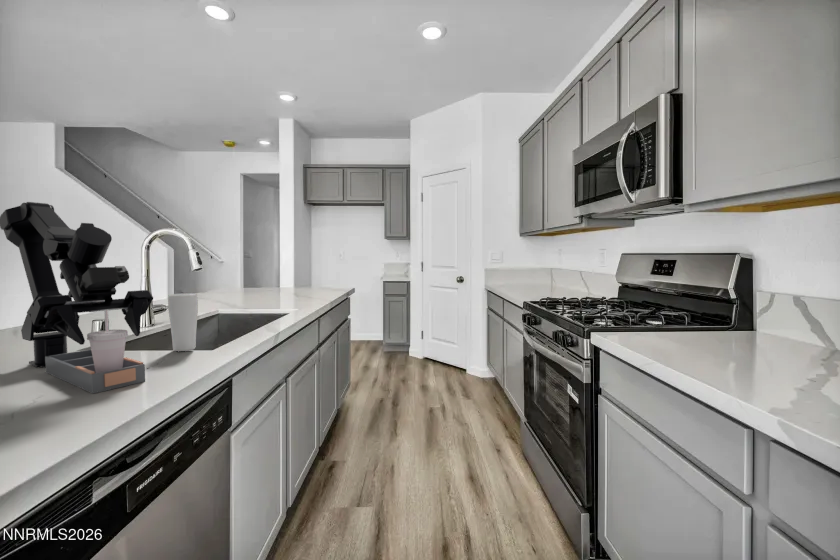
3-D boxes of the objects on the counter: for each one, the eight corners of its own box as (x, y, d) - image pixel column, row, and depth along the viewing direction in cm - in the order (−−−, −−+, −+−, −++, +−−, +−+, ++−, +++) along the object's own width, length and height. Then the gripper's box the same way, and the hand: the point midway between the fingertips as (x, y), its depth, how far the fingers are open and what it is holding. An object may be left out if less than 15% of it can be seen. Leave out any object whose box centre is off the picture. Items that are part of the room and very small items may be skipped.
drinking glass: (185, 353, 103) (183, 296, 102) (163, 352, 105) (161, 295, 104) (204, 347, 110) (203, 293, 109) (183, 346, 111) (182, 293, 110)
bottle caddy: (45, 372, 86) (45, 355, 86) (94, 363, 93) (93, 347, 93) (93, 393, 73) (93, 373, 72) (146, 381, 80) (145, 363, 80)
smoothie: (124, 373, 83) (122, 307, 83) (133, 380, 79) (131, 310, 78) (85, 381, 79) (82, 310, 78) (92, 388, 74) (89, 313, 74)
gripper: (33, 252, 71) (61, 318, 66) (147, 253, 87) (176, 306, 83) (19, 293, 76) (45, 358, 71) (130, 287, 92) (157, 340, 87)
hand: (112, 338), depth 78 cm, fingers open, 9 cm apart
